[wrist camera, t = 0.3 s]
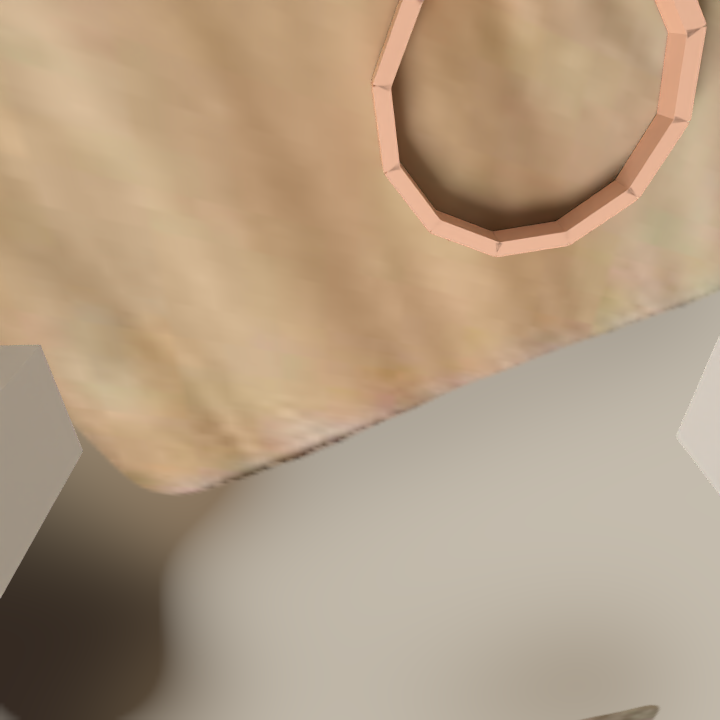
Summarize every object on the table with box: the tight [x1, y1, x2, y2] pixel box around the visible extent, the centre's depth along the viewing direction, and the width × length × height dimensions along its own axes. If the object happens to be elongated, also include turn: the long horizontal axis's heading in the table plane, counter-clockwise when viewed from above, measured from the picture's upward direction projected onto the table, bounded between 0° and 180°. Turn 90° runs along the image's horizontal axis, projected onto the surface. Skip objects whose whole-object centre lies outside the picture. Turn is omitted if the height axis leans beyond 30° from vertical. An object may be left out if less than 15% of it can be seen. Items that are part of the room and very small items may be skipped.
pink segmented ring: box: [371, 0, 707, 257], centre depth 31 cm, size 18×18×2 cm
